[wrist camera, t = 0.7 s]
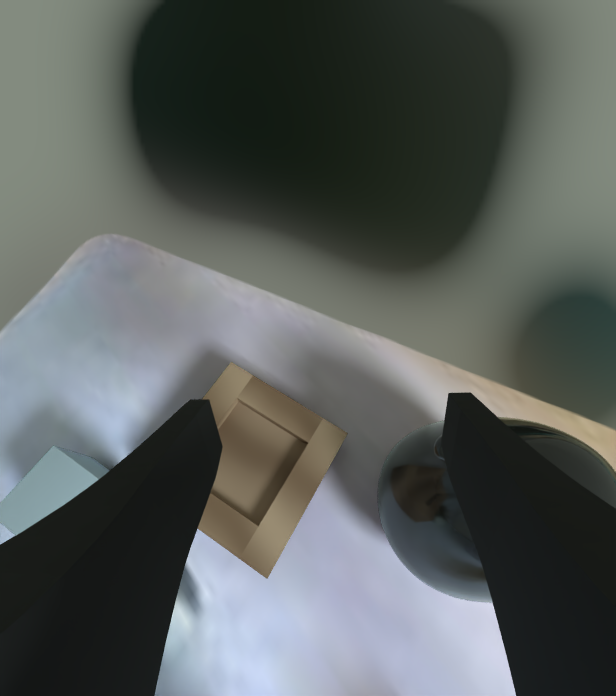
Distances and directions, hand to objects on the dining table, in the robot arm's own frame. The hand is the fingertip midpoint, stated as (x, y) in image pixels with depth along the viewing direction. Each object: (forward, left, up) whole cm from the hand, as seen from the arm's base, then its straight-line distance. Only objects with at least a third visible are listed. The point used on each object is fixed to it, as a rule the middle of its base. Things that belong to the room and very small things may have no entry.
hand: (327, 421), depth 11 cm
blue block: (-9, +12, -18) cm, 23 cm away
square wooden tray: (-1, +4, -17) cm, 18 cm away
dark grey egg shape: (+4, -9, -18) cm, 20 cm away
